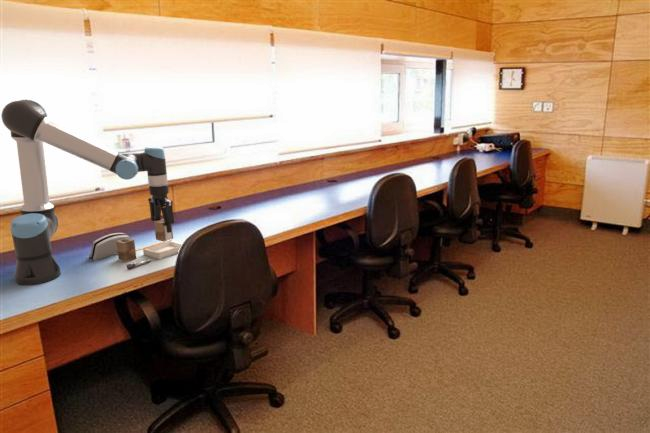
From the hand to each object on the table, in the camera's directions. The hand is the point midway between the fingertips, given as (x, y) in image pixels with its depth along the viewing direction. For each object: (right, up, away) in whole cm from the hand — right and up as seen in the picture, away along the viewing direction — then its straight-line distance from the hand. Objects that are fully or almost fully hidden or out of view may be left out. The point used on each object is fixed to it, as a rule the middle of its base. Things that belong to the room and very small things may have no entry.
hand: (164, 238), depth 214 cm
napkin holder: (-23, -7, +1) cm, 24 cm away
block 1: (-14, -8, -5) cm, 17 cm away
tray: (0, -6, +2) cm, 6 cm away
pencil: (-10, -5, +9) cm, 14 cm away
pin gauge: (-5, -10, -13) cm, 17 cm away
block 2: (0, 0, 0) cm, 0 cm away
